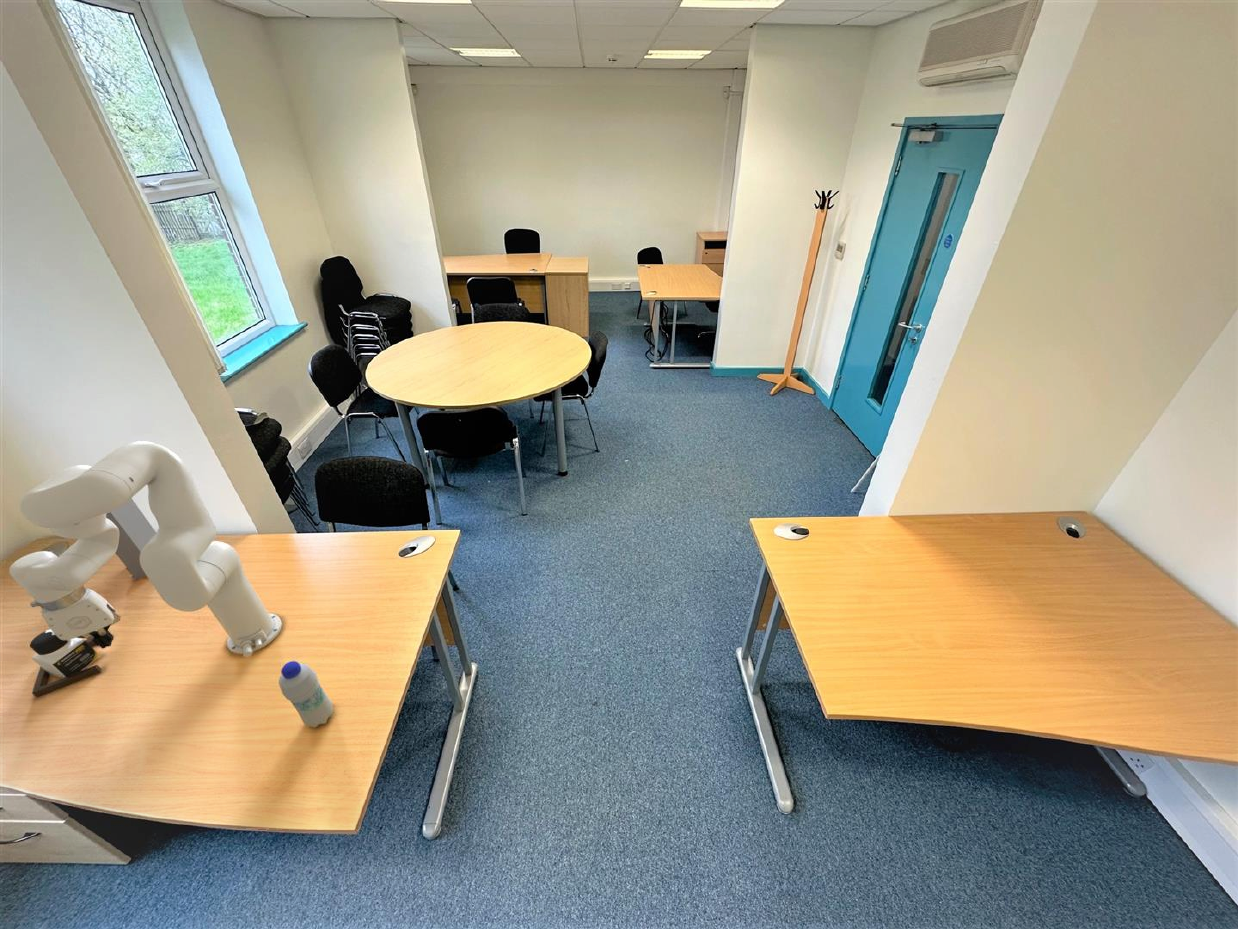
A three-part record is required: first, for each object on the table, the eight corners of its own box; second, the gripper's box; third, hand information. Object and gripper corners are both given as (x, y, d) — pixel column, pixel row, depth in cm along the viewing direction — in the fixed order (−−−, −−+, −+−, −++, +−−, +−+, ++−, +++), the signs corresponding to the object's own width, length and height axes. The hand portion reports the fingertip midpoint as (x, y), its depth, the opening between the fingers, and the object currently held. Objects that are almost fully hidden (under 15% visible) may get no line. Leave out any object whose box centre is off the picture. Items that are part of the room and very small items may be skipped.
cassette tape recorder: (144, 553, 160) (98, 493, 146) (167, 547, 162) (124, 487, 148) (133, 581, 149) (83, 519, 136) (157, 574, 152) (111, 512, 138)
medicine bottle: (70, 680, 122) (38, 651, 115) (49, 674, 123) (16, 645, 116) (101, 656, 127) (72, 627, 121) (81, 651, 129) (51, 621, 122)
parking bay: (101, 672, 123) (96, 667, 122) (37, 698, 118) (31, 693, 117) (108, 637, 132) (104, 633, 131) (48, 660, 126) (43, 655, 125)
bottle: (328, 697, 118) (298, 647, 107) (341, 714, 114) (311, 664, 103) (299, 718, 113) (264, 668, 102) (312, 737, 110) (277, 687, 99)
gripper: (15, 621, 111) (66, 669, 121) (101, 592, 118) (143, 639, 128) (23, 600, 116) (71, 647, 126) (106, 573, 123) (145, 620, 133)
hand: (107, 643), depth 127 cm, fingers closed
